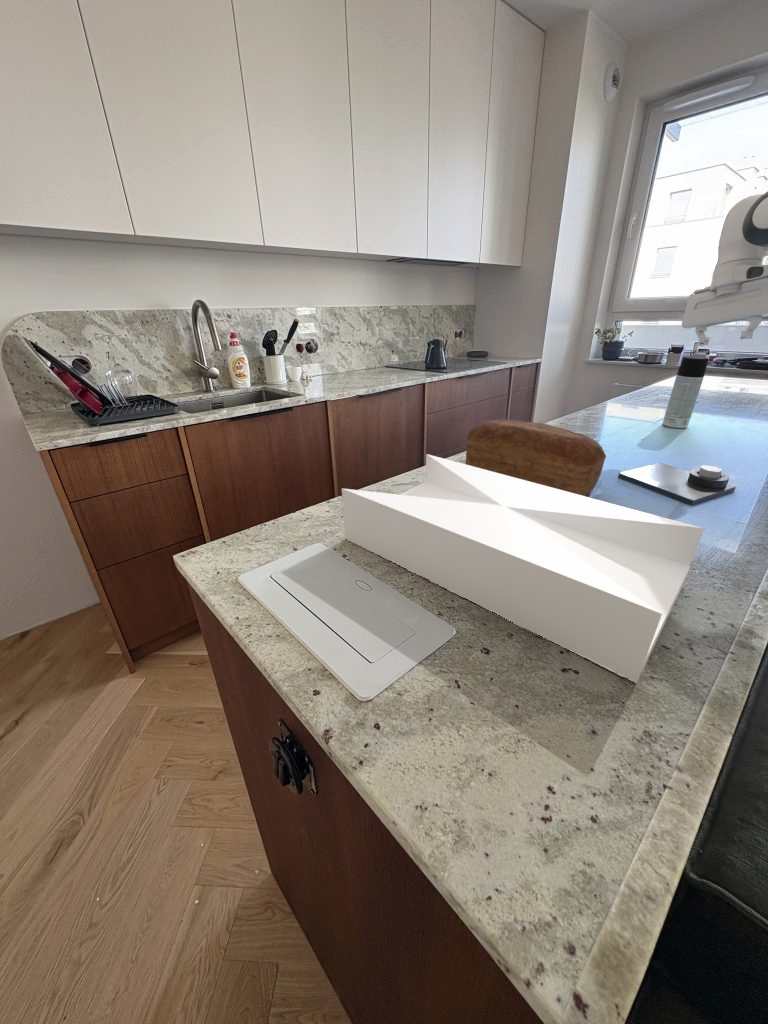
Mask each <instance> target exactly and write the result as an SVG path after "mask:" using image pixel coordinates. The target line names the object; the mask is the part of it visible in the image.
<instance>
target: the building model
mask: <svg viewBox="0 0 768 1024" xmlns="http://www.w3.org/2000/svg"><path fill="white" fill-rule="evenodd" d="M425 455H426V456H425V481H424V482H422V483H420V484H418V485H416V486H414V487H412V488H410V489H408V490H406V491H403V492H401V493H400V494H397V493H388V492H381V491H379V492H378V491H371V490H370V491H369V490H361V489H351V488H341V500H342V512H343V513H342V514H343V515H342V516H343V530H344V540H345V539H347V540H349V541H351V542H353V543H355V544H357V545H359V546H362V547H364V548H366V549H367V550H369V551H372V552H374V553H376V554H378V555H380V556H382V557H384V558H386V559H388V560H390V561H392V562H395V563H396V564H398V565H401V566H403V567H405V568H407V569H409V570H411V571H413V572H415V573H418V574H419V575H421V576H423V577H425V578H427V579H429V580H431V581H434V582H435V583H437V584H439V585H440V586H443V587H445V588H447V589H449V590H451V591H453V592H454V593H456V594H458V595H460V596H463V597H465V598H467V599H468V600H470V601H472V602H474V603H476V604H478V605H480V606H482V607H483V608H485V609H487V610H489V611H488V612H490V611H491V612H490V613H492V612H494V613H496V614H497V615H496V614H495V615H496V616H498V615H500V616H502V617H503V618H502V617H501V618H502V619H504V618H505V619H504V620H506V619H507V620H506V621H507V622H510V621H511V622H510V623H512V622H513V623H512V624H513V625H516V626H518V627H520V628H521V629H524V628H525V629H524V630H526V629H527V630H526V631H528V630H529V631H528V632H530V631H531V632H530V633H532V632H533V633H532V634H534V633H536V634H537V635H536V634H535V635H536V636H538V635H540V636H542V637H543V638H542V637H541V638H542V639H544V638H546V639H547V640H546V639H545V640H546V641H548V640H550V641H552V642H554V643H556V644H558V645H560V646H563V647H565V648H567V649H570V650H572V651H574V652H576V653H579V654H580V655H583V656H585V657H588V658H590V659H591V660H593V661H596V662H598V663H600V664H602V665H605V666H606V667H609V668H611V669H613V670H615V671H617V672H619V673H620V674H622V675H624V676H626V677H627V678H629V679H631V680H633V681H635V682H636V683H637V684H638V683H639V680H640V678H639V677H641V676H640V675H642V674H643V672H644V670H645V667H646V665H647V663H648V661H649V659H650V657H649V656H651V655H650V654H652V652H653V650H654V648H655V647H656V645H657V642H658V640H659V637H660V635H661V633H662V632H663V629H664V627H665V625H666V623H667V621H668V619H667V618H669V616H670V614H671V612H672V610H673V608H674V605H676V604H675V603H676V602H677V600H678V597H679V595H680V593H681V591H682V589H683V587H684V583H685V581H686V578H687V575H688V574H689V570H690V568H691V566H692V562H693V560H694V557H695V555H696V553H697V550H698V547H699V544H700V542H701V538H702V536H703V534H704V531H705V528H704V527H701V526H698V525H693V524H690V523H686V522H683V521H679V520H676V519H672V518H669V517H668V518H667V517H663V516H660V515H657V514H653V513H649V512H646V511H641V510H638V509H634V508H630V507H627V506H622V505H618V504H615V503H612V502H608V501H604V500H600V499H597V498H592V497H589V496H586V495H585V496H582V495H578V494H574V493H571V492H567V491H563V490H559V489H556V488H552V487H548V486H544V485H541V484H537V483H533V482H530V481H526V480H522V479H518V478H515V477H511V476H507V475H503V474H500V473H496V472H492V471H488V470H485V469H481V468H477V467H473V466H470V465H466V463H462V462H458V461H454V460H450V459H447V458H443V457H439V456H436V455H432V454H428V453H426V454H425ZM347 540H346V541H347ZM349 541H348V542H349ZM351 542H350V543H351ZM353 543H352V544H353ZM355 544H354V545H355ZM357 545H356V546H357ZM359 546H358V547H359ZM367 550H366V551H367ZM369 551H368V552H369ZM675 601H676V602H675ZM483 608H482V609H483ZM485 609H484V610H485ZM487 610H486V611H487ZM494 613H493V614H494ZM500 616H499V617H500ZM540 636H539V637H540ZM550 641H549V642H550ZM552 642H551V643H552ZM554 643H553V644H554ZM556 644H555V645H556ZM558 645H557V646H558ZM560 646H559V647H560ZM642 671H643V672H642ZM641 673H642V674H641Z"/></svg>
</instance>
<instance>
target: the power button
mask: <svg viewBox="0 0 768 1024" xmlns="http://www.w3.org/2000/svg"><path fill="white" fill-rule="evenodd" d="M699 469H700V471H699V475H700V476H703V477H706V478H712V479H719V478H720V476H721V473H723V469H722V468H721V467H718V466H714V465H701V466H700V468H699Z"/></svg>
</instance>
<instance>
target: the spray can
mask: <svg viewBox="0 0 768 1024" xmlns="http://www.w3.org/2000/svg"><path fill="white" fill-rule="evenodd" d="M708 364H709V358H708V357H706V356H700V355H684V356H682V359H681V362H680V365H679V367H678V369H677V373H676V376H675V379H674V383H673V386H672V389H671V393H670V396H669V400H668V403H667V406H666V410H665V413H664V417H663V419H662V427H666V428H671V429H686V428H687V427H688V426H689V424H690V420H691V418H692V415H693V412H694V408H695V405H696V402H697V400H698V396H699V393H700V390H701V387H702V384H703V381H704V378H705V375H706V372H707V367H708Z"/></svg>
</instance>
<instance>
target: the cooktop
mask: <svg viewBox="0 0 768 1024" xmlns="http://www.w3.org/2000/svg"><path fill="white" fill-rule="evenodd" d="M699 471H700V468H694V469H691V470H690V471H687V470H685V469H682V468H678V467H676V466H672V465H668V464H667V463H664V462H658V463H653V464H649V465H645V466H642V467H637V468H633V469H630V470H625V471H621V472H619V473H618V476H617V478H618V479H620V480H622V481H625V482H628V483H631V484H634V485H636V486H638V487H641V488H643V489H646V490H648V491H652V492H654V493H656V494H659V495H662V496H664V497H667V498H669V499H672V500H675V501H677V502H680V503H683V504H685V505H688V506H691V507H692V506H696V505H699V504H702V503H705V502H707V501H711V500H715V499H717V498H721V497H723V496H726V495H729V494H732V493H734V492H735V490H736V489H737V487H736V486H735V485H730V484H728V483H729V481H730V476H729V475H727V474H725V473H723V472H722V473H721V476H720V478H719V479H712V478H706V477H703V476H700V475H699Z"/></svg>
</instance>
